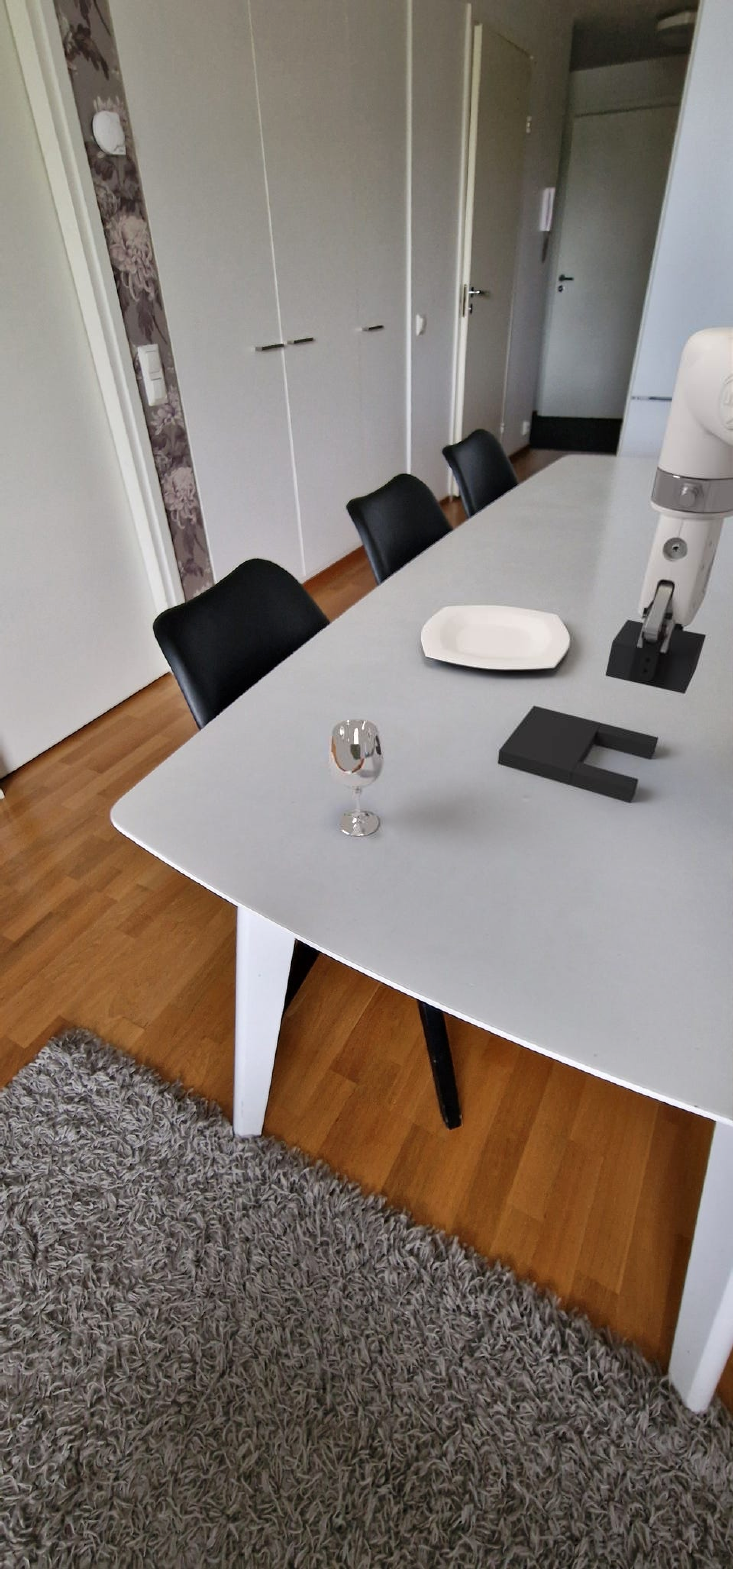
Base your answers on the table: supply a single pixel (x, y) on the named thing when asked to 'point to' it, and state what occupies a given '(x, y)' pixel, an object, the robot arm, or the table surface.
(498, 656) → the plate
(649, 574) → the robot arm
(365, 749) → the wineglass
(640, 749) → the socket pad
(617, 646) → the black rectangular block
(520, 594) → the table surface
